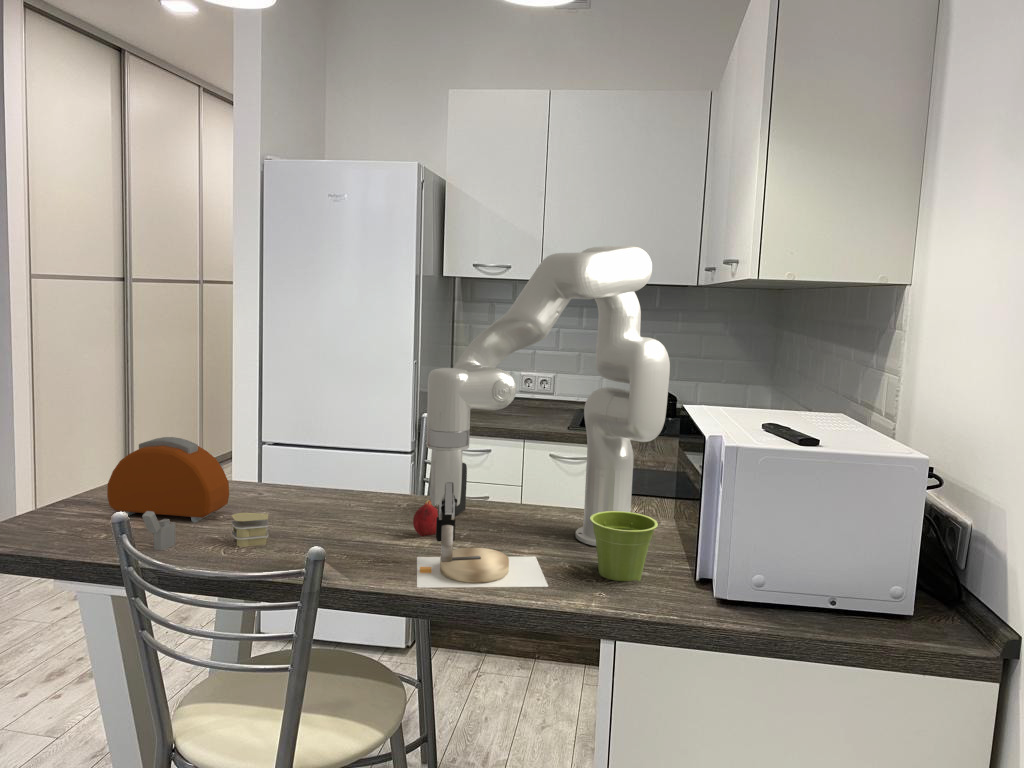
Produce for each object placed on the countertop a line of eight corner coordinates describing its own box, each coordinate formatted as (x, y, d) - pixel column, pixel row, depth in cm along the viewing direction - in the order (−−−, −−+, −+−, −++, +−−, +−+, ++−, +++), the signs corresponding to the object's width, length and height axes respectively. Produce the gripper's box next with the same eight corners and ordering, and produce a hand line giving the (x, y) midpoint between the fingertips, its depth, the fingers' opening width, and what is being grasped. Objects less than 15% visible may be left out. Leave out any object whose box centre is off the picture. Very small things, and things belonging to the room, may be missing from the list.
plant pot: (608, 597, 135) (611, 533, 133) (575, 573, 145) (578, 513, 144) (667, 589, 139) (671, 526, 138) (631, 567, 150) (634, 508, 149)
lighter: (168, 543, 154) (167, 502, 153) (176, 544, 153) (175, 503, 152) (142, 554, 147) (141, 512, 146) (150, 555, 146) (149, 513, 146)
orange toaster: (230, 513, 175) (230, 437, 173) (209, 524, 166) (208, 445, 164) (132, 505, 178) (130, 431, 176) (106, 516, 169) (104, 438, 167)
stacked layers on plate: (276, 535, 162) (276, 509, 161) (276, 550, 153) (276, 522, 152) (224, 538, 159) (224, 511, 158) (220, 553, 150) (220, 524, 150)
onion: (436, 544, 159) (437, 505, 158) (408, 542, 160) (409, 503, 159) (444, 536, 164) (445, 498, 163) (417, 533, 165) (418, 495, 164)
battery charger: (451, 507, 185) (452, 459, 184) (466, 509, 184) (467, 461, 183) (438, 515, 179) (440, 465, 177) (454, 517, 177) (455, 467, 176)
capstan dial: (499, 556, 148) (501, 514, 147) (516, 580, 136) (517, 534, 135) (435, 559, 145) (436, 516, 144) (446, 584, 133) (447, 537, 132)
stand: (535, 564, 150) (535, 553, 149) (548, 595, 135) (548, 583, 134) (416, 564, 147) (417, 553, 147) (416, 596, 132) (416, 584, 132)
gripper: (424, 430, 147) (422, 527, 150) (429, 447, 133) (426, 554, 135) (464, 431, 149) (462, 527, 151) (474, 447, 134) (470, 553, 136)
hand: (445, 539), depth 143 cm, fingers closed
